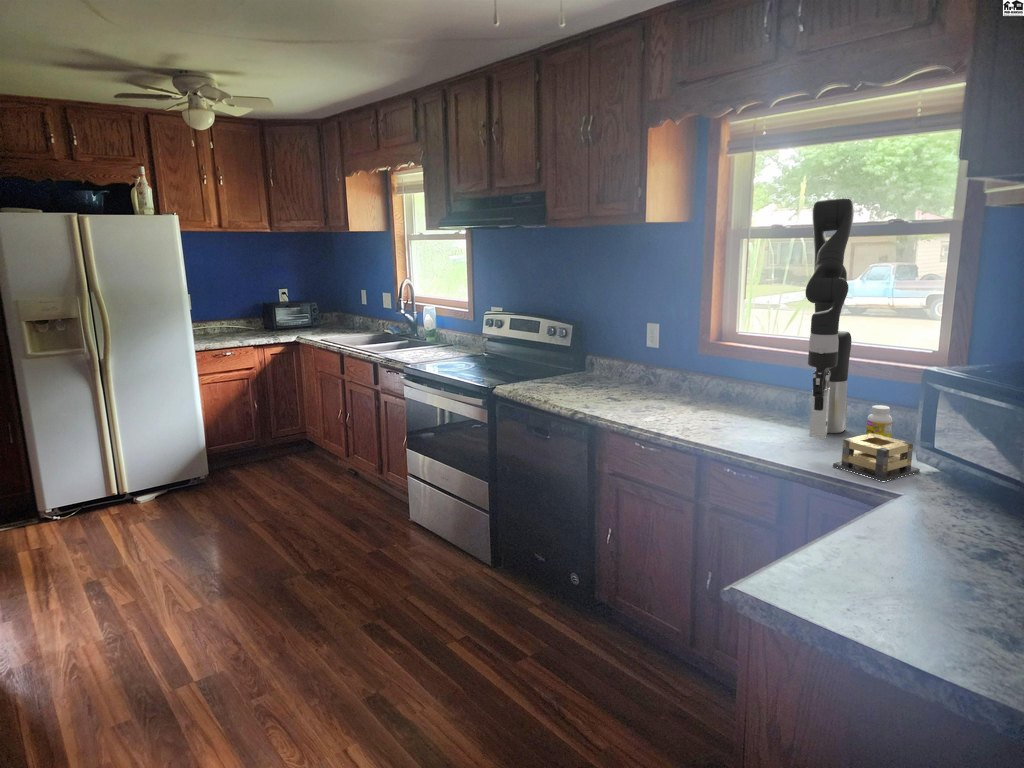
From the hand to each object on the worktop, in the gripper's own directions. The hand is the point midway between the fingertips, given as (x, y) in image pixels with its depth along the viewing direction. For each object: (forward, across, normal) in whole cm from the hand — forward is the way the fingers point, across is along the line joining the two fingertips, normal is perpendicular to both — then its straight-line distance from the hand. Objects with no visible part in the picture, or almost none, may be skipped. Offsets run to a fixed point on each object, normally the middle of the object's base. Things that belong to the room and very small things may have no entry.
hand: (819, 408), depth 189 cm
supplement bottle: (+16, -18, +14) cm, 28 cm away
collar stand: (+15, +4, +15) cm, 22 cm away
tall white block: (+8, 0, 0) cm, 8 cm away
